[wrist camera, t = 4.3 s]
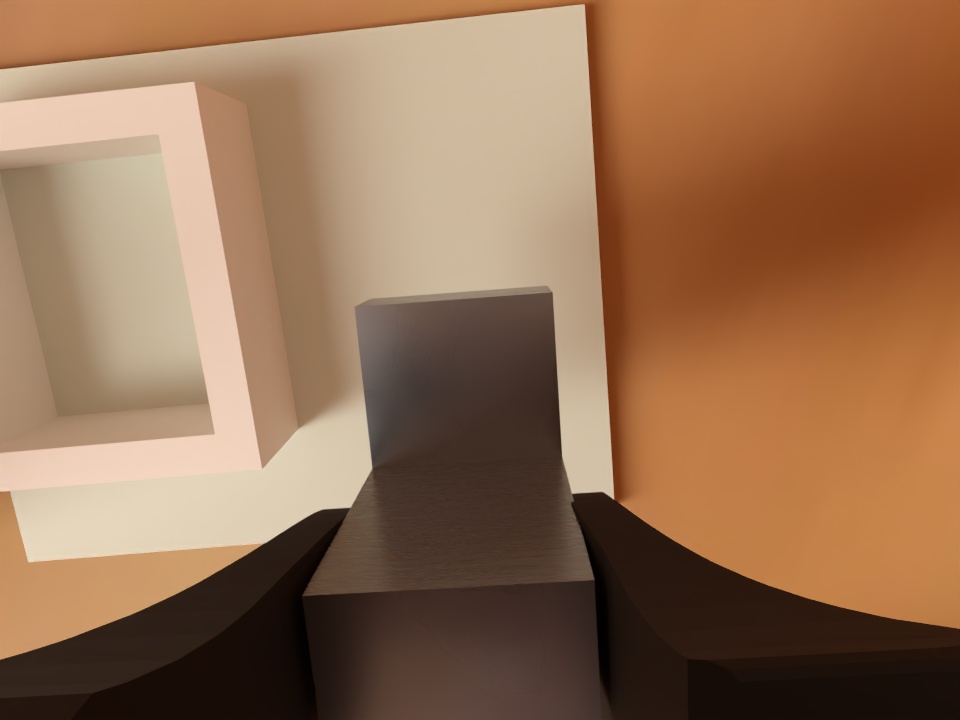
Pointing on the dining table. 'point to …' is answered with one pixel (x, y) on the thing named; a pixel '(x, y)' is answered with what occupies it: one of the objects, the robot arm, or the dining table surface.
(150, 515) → the well board
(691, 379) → the dining table surface
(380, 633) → the bracket
